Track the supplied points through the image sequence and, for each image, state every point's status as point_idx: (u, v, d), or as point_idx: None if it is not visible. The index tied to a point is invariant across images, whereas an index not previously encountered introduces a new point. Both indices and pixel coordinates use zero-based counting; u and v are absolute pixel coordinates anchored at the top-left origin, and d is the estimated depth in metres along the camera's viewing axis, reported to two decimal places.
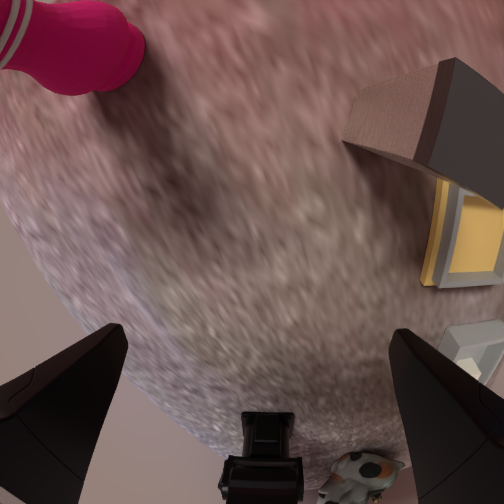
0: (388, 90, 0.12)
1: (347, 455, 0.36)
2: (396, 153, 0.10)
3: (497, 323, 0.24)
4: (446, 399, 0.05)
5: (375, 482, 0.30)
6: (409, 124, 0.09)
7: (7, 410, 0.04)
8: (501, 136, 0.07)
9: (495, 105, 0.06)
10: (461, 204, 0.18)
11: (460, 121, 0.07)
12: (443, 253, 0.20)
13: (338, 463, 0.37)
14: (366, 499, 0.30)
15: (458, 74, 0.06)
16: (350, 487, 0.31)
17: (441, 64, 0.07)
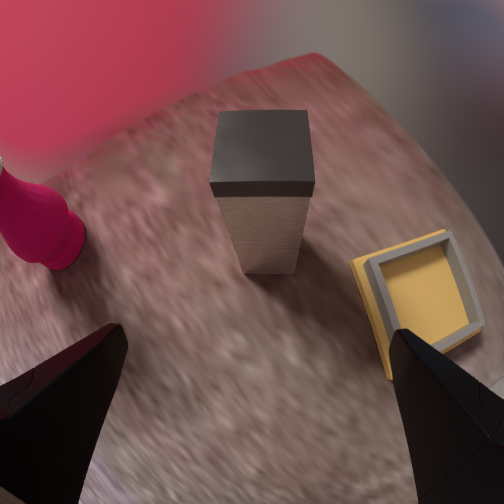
0: None
1: None
2: (222, 213, 0.14)
3: None
4: (446, 399, 0.05)
5: None
6: None
7: (7, 410, 0.04)
8: (279, 134, 0.12)
9: (266, 120, 0.12)
10: (381, 273, 0.20)
11: (231, 143, 0.12)
12: (391, 332, 0.19)
13: None
14: None
15: (222, 119, 0.12)
16: None
17: None
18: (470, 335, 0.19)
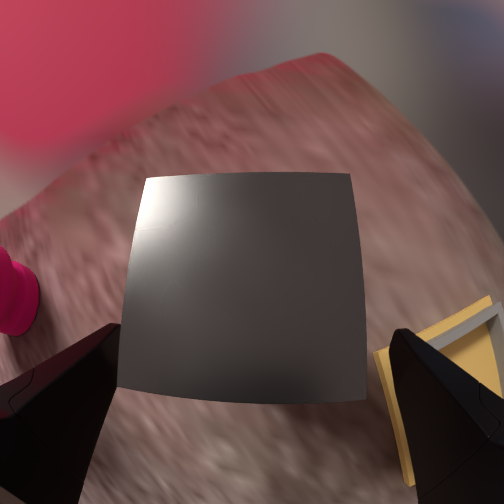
0: None
1: None
2: None
3: None
4: (446, 399, 0.05)
5: None
6: None
7: (7, 410, 0.04)
8: (284, 251, 0.05)
9: (253, 204, 0.05)
10: None
11: (162, 279, 0.05)
12: None
13: None
14: None
15: (150, 201, 0.05)
16: None
17: None
18: None
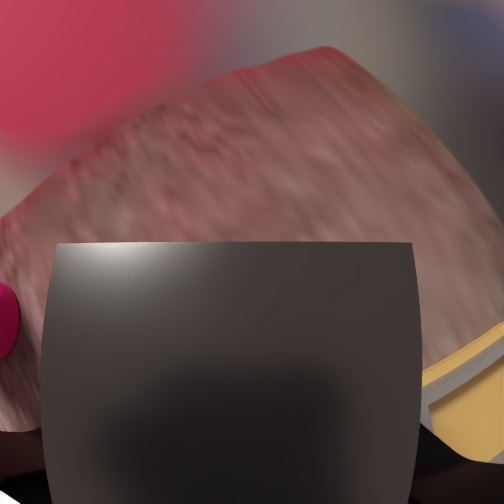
0: None
1: None
2: None
3: None
4: None
5: None
6: None
7: None
8: (287, 415, 0.02)
9: (228, 311, 0.03)
10: (429, 418, 0.11)
11: (85, 432, 0.02)
12: None
13: None
14: None
15: (60, 290, 0.03)
16: None
17: None
18: None
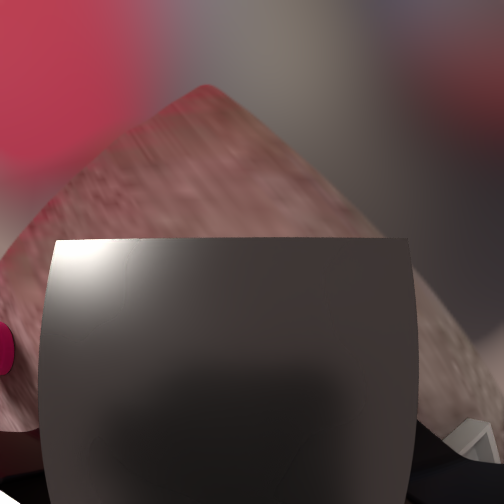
0: None
1: None
2: None
3: (464, 425, 0.16)
4: None
5: None
6: None
7: None
8: (282, 410, 0.02)
9: (224, 306, 0.03)
10: None
11: (82, 427, 0.02)
12: None
13: None
14: None
15: (58, 286, 0.03)
16: None
17: None
18: None
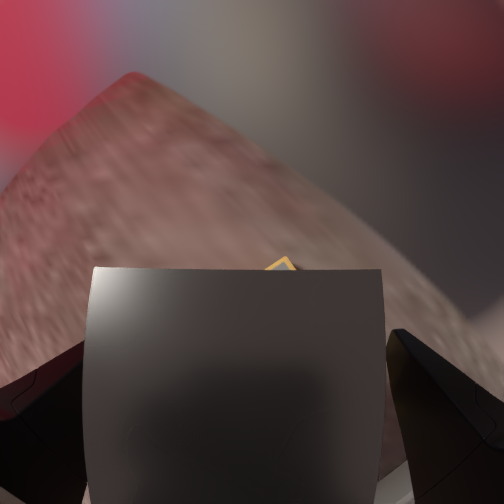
0: None
1: None
2: None
3: None
4: (442, 400, 0.05)
5: None
6: None
7: (10, 412, 0.04)
8: (281, 399, 0.03)
9: (238, 322, 0.04)
10: None
11: (123, 419, 0.03)
12: None
13: None
14: None
15: (99, 306, 0.04)
16: None
17: None
18: None
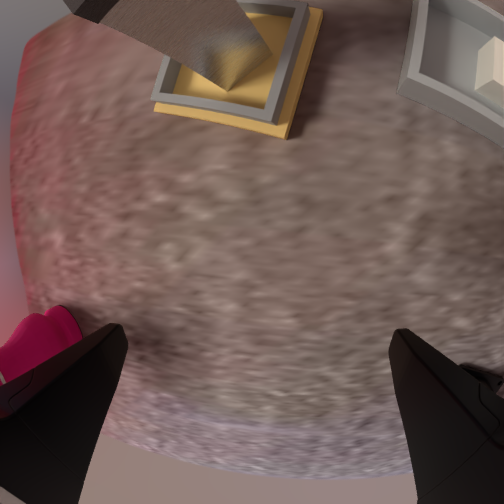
0: None
1: None
2: (128, 34, 0.08)
3: (414, 1, 0.12)
4: (446, 399, 0.05)
5: None
6: None
7: (7, 410, 0.04)
8: None
9: None
10: (169, 93, 0.17)
11: None
12: (228, 113, 0.17)
13: None
14: None
15: None
16: None
17: None
18: (314, 24, 0.14)
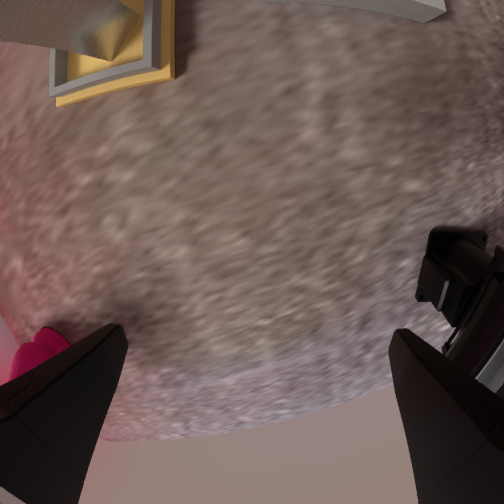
0: None
1: None
2: (5, 41, 0.06)
3: None
4: (446, 399, 0.05)
5: None
6: None
7: (7, 410, 0.04)
8: None
9: None
10: (62, 84, 0.15)
11: None
12: (115, 77, 0.15)
13: None
14: None
15: None
16: None
17: None
18: None
